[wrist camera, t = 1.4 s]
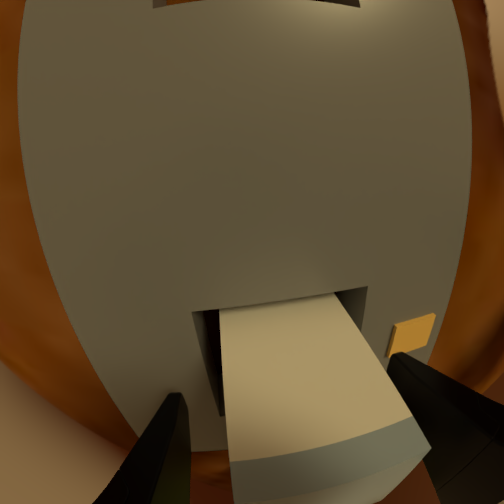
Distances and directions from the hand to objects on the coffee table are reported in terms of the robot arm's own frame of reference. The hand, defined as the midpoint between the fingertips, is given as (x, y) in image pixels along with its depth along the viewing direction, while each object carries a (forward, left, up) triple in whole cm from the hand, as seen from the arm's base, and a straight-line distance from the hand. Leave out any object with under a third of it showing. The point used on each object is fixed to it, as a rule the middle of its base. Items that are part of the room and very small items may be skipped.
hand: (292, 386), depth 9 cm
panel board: (0, -7, -4) cm, 8 cm away
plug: (0, 0, -4) cm, 4 cm away
